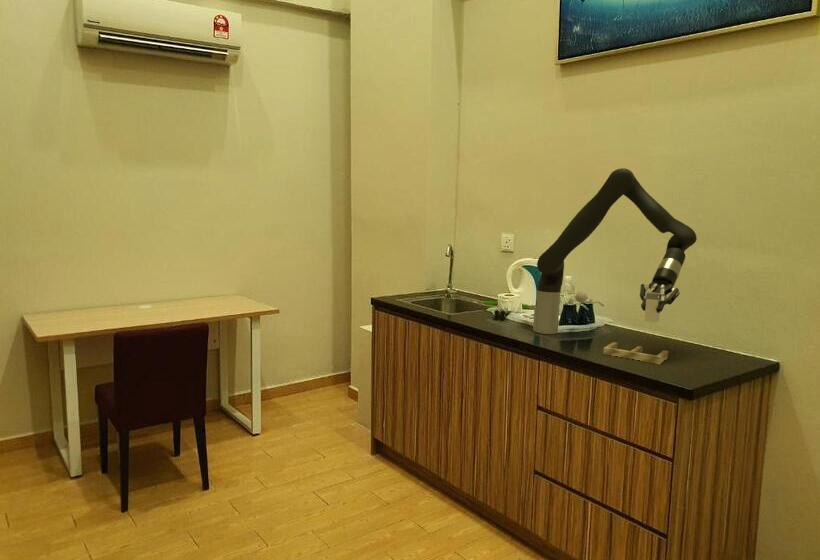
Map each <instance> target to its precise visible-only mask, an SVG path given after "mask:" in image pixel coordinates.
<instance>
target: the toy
mask: <svg viewBox="0 0 820 560" xmlns="http://www.w3.org/2000/svg"><path fill="white" fill-rule="evenodd" d="M574 299H575V300H576V302H578V303H581V304H582V303H583V304H584V303H586V301H587V300H588V299H589V296H588V294H587V293H586V292H585V291H582V290H581V291H577V292H576V294H575V295H574ZM574 299H573V298H572V297H570V298H569V299H568V300H567V304H568V303H573V304H574ZM588 303H592V304H593V305H594V301H593V299H592V298H590V299H589V300H588ZM588 303H587V304H588Z"/></svg>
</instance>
